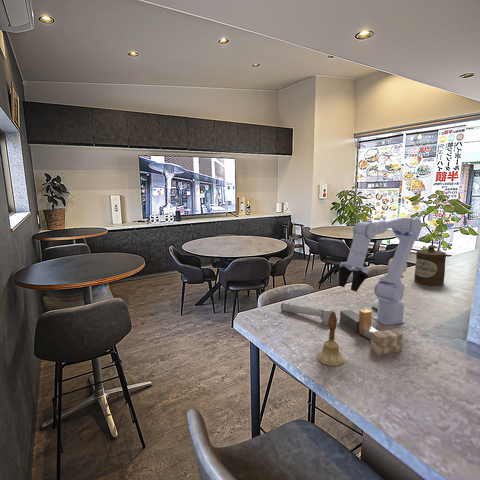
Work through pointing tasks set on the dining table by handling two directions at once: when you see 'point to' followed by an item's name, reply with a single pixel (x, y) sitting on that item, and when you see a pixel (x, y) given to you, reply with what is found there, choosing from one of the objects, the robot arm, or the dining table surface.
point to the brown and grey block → (365, 323)
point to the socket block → (386, 341)
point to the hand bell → (331, 346)
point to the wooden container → (430, 267)
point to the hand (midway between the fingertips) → (347, 288)
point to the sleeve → (350, 320)
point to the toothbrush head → (307, 311)
